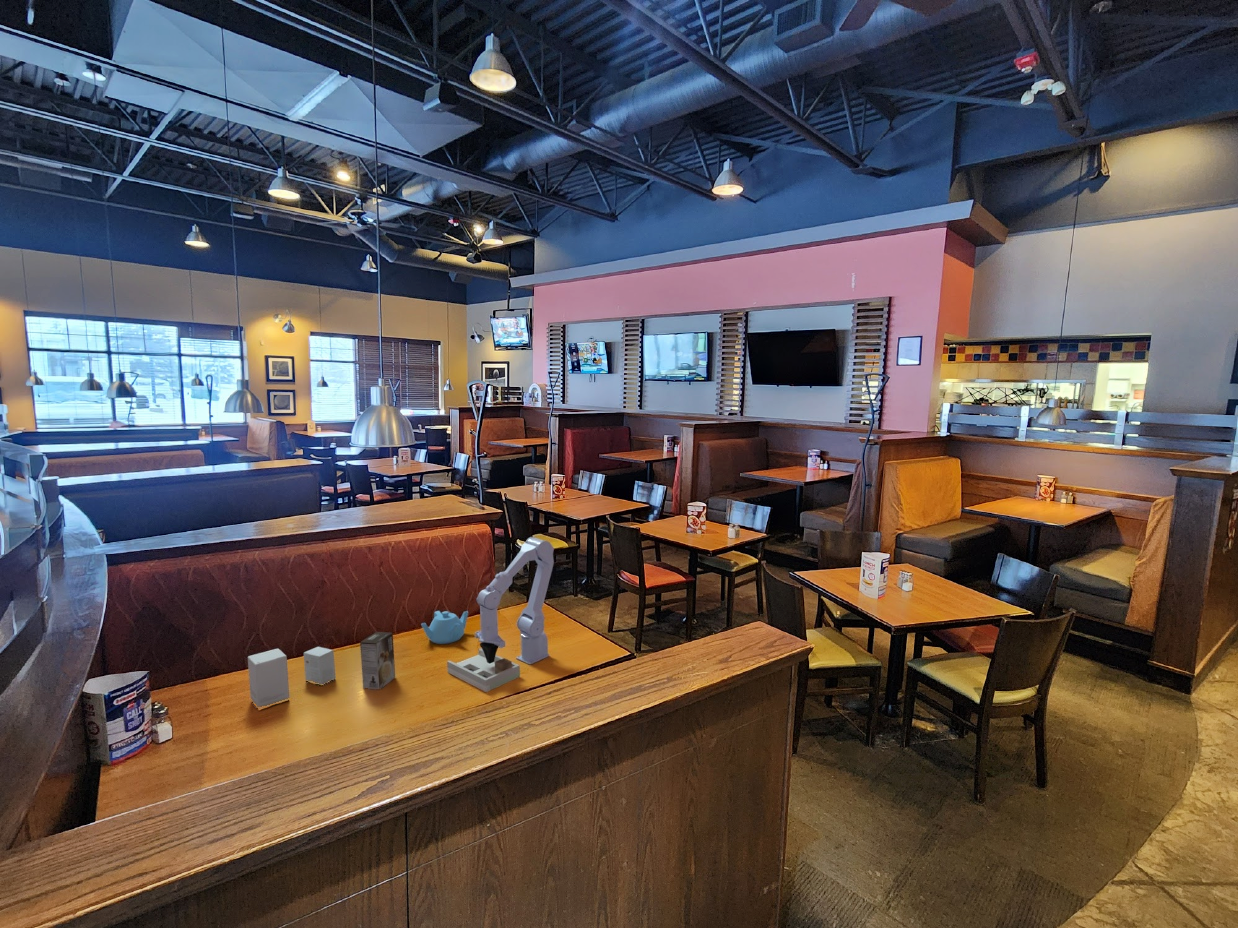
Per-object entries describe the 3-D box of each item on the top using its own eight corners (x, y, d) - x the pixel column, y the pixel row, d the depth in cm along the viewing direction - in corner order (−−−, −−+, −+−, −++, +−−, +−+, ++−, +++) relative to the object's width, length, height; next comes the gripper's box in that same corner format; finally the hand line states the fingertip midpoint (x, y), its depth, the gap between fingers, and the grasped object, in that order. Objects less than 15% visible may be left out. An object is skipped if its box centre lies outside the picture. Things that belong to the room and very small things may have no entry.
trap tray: (481, 658, 211) (480, 648, 211) (519, 676, 197) (519, 665, 196) (447, 672, 200) (447, 661, 200) (486, 692, 186) (485, 680, 186)
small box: (336, 679, 196) (334, 649, 195) (321, 686, 191) (319, 656, 190) (319, 675, 200) (317, 645, 198) (305, 682, 194) (303, 652, 193)
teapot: (471, 630, 238) (470, 605, 237) (460, 645, 223) (459, 618, 222) (434, 630, 238) (433, 605, 237) (421, 645, 224) (419, 618, 222)
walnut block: (504, 669, 198) (504, 657, 198) (511, 672, 195) (511, 661, 195) (495, 673, 195) (494, 661, 195) (502, 676, 192) (501, 665, 192)
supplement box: (290, 701, 182) (287, 655, 180) (258, 711, 176) (254, 664, 174) (282, 691, 188) (278, 647, 187) (250, 701, 182) (246, 655, 180)
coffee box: (379, 675, 198) (376, 630, 197) (395, 677, 197) (393, 632, 196) (362, 688, 189) (359, 641, 188) (379, 690, 188) (377, 643, 187)
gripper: (467, 622, 200) (468, 660, 202) (492, 632, 191) (494, 672, 192) (483, 616, 206) (485, 653, 207) (509, 626, 196) (511, 664, 198)
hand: (490, 662), depth 200 cm, fingers closed
